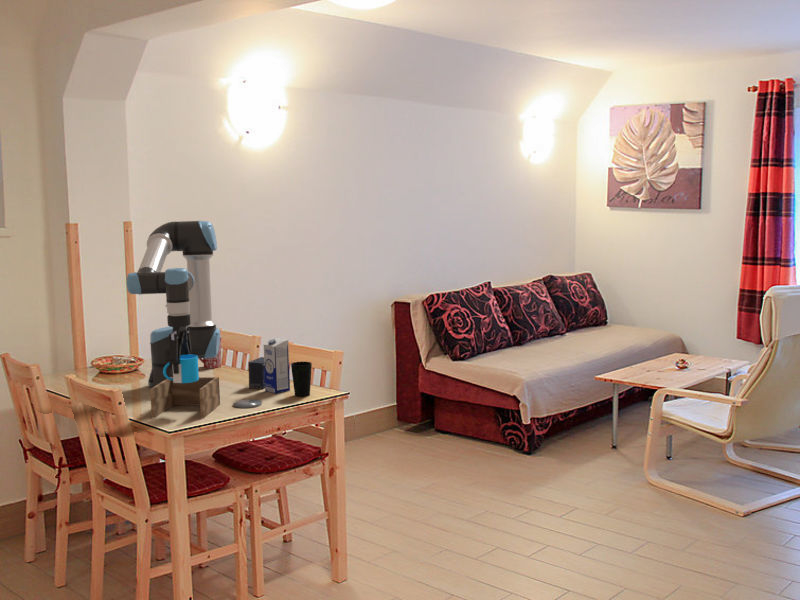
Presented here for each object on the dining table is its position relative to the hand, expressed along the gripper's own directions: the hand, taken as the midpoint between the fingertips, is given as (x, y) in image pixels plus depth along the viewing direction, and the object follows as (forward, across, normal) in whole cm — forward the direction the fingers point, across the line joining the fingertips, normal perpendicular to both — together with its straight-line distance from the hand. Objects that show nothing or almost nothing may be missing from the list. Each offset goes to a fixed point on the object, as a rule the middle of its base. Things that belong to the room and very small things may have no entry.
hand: (182, 379), depth 275 cm
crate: (+12, -2, 0) cm, 12 cm away
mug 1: (0, +1, 0) cm, 1 cm away
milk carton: (+12, -32, +25) cm, 43 cm away
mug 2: (+13, -76, -16) cm, 78 cm away
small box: (+13, -40, +17) cm, 46 cm away
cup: (+12, -26, +36) cm, 46 cm away
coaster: (+12, -12, +19) cm, 25 cm away
